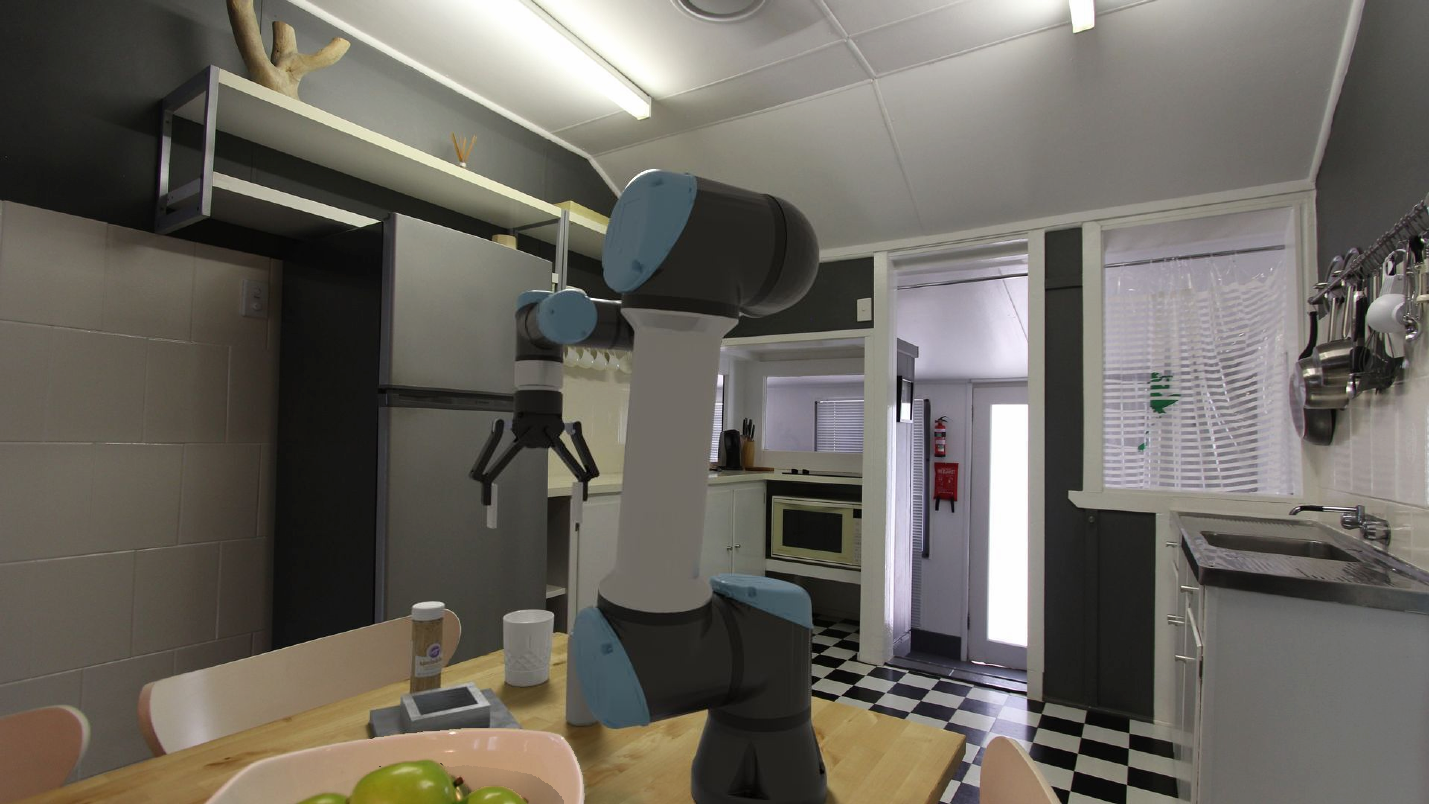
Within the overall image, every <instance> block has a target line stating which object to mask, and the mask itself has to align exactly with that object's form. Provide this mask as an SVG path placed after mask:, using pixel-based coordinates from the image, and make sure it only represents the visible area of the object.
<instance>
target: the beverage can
mask: <svg viewBox="0 0 1429 804" xmlns="http://www.w3.org/2000/svg"><path fill="white" fill-rule="evenodd" d="M566 645H567V647H566V648H567V651H566V654H567V655H566V685H565V686H566V688H565V689H566V691H565V719H566V721H567V723H568V724H570V725H572V726H575V727H586V726H587V727H588V726H590V725H594V724H596V723H597V722H599V721H598V720H597V719H596V718H595V717H594V715H593V714H592V712H591V710H590V709H589V707H588V705H587V702H586V700H585V698H584V695H583V692H582V689H581V686H580V682H579V679H578V675H577V670H576V665H575V659H574V651H573V628H572V629H570V630H569V631H568V636H567V644H566Z"/></svg>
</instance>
